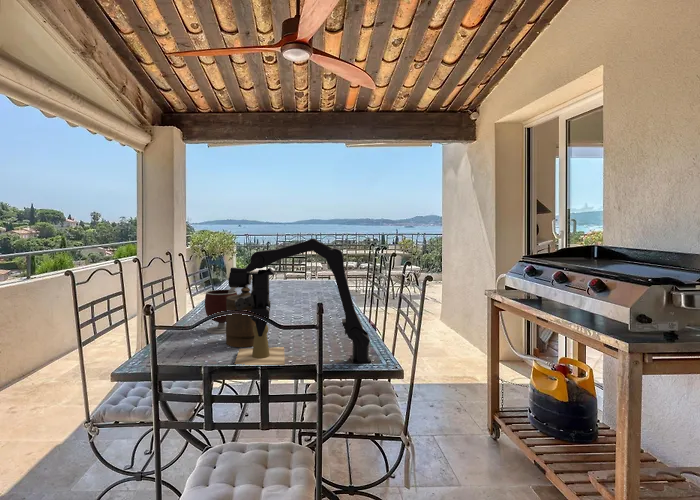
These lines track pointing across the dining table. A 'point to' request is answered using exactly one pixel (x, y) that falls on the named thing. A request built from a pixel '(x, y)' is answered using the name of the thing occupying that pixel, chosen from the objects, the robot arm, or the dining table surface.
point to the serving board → (273, 359)
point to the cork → (260, 344)
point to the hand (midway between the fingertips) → (260, 332)
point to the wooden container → (239, 323)
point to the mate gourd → (217, 308)
